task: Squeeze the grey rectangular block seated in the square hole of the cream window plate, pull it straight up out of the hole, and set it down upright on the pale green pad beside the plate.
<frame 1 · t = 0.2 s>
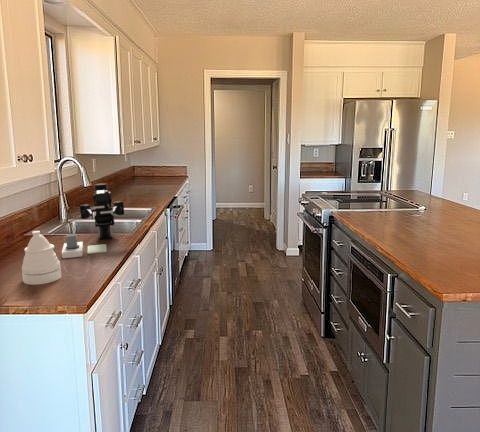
hand: (102, 213, 191), 17 cm above the worktop, tool horizontal, fingers open, 9 cm apart
cream window plate: (73, 252, 193), on the worktop
green pad: (97, 249, 197), on the worktop
grey rectangular block: (73, 253, 192), resting in cream window plate
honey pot: (42, 278, 161), on the worktop
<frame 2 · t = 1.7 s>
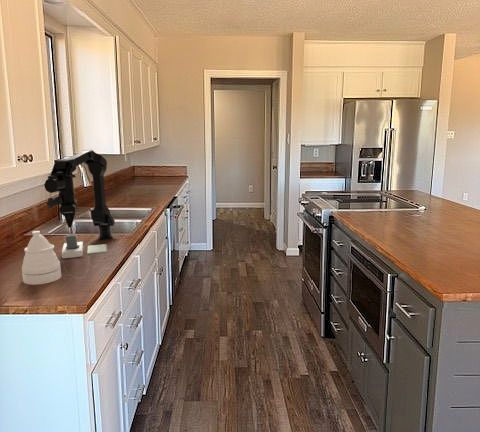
hand: (70, 225, 190), 12 cm above the worktop, tool pointing down, fingers open, 9 cm apart
nothing on the worktop moved.
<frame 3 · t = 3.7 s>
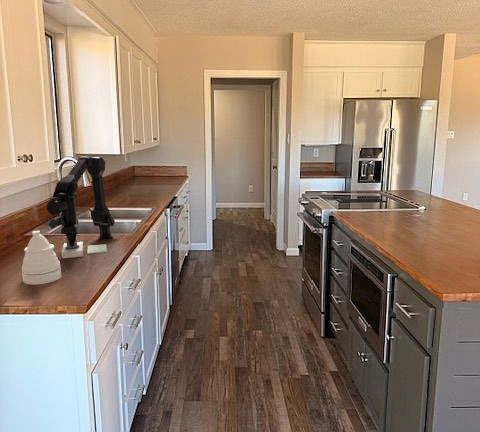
hand: (72, 245, 192), 4 cm above the worktop, tool pointing down, fingers closed on grey rectangular block, 4 cm apart
grey rectangular block: (73, 253, 192), resting in cream window plate, touching gripper
everything else where it was.
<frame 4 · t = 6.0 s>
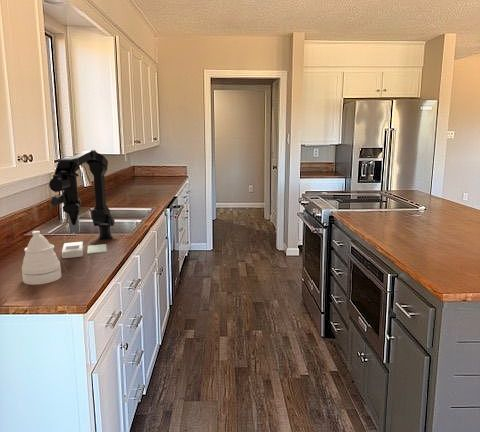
hand: (74, 223, 191), 13 cm above the worktop, tool pointing down, fingers closed on grey rectangular block, 4 cm apart
grey rectangular block: (74, 231, 191), point 9 cm above the worktop, touching gripper
everything else where it was.
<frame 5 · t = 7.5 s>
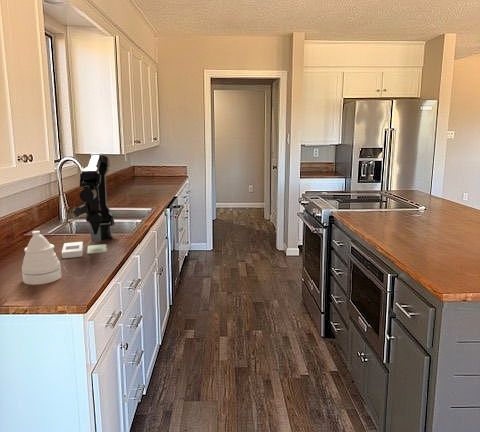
hand: (95, 233, 196), 7 cm above the worktop, tool pointing down, fingers closed on grey rectangular block, 4 cm apart
grey rectangular block: (96, 240, 197), point 4 cm above the worktop, touching gripper
everything else where it was.
when the fingers open (5 cm above the worktop, at t = 8.6 s): grey rectangular block drops 1 cm, resting on green pad.
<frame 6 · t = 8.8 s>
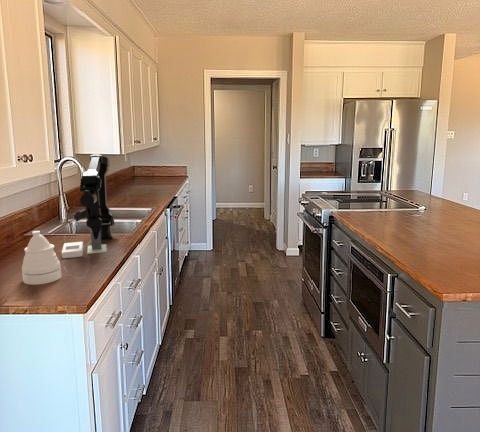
hand: (95, 237, 196), 5 cm above the worktop, tool pointing down, fingers open, 6 cm apart
grey rectangular block: (96, 248, 197), point 1 cm above the worktop, touching green pad
everything else where it was.
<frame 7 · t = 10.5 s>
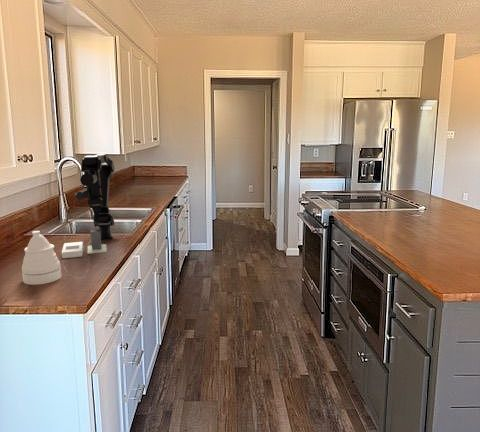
hand: (96, 217, 203), 13 cm above the worktop, tool pointing down, fingers open, 9 cm apart
nothing on the worktop moved.
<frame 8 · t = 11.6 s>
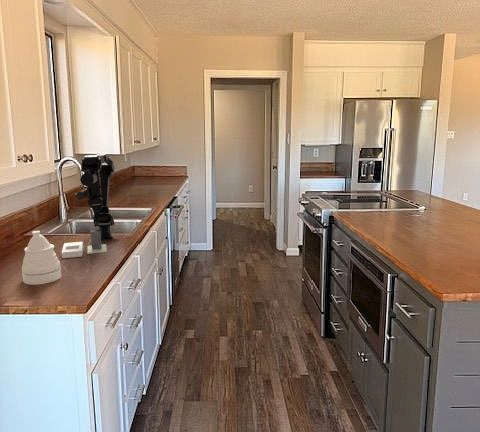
hand: (96, 217, 203), 13 cm above the worktop, tool pointing down, fingers open, 9 cm apart
nothing on the worktop moved.
at the end: grey rectangular block inside the target area on the green pad (0.1 cm from its centre), point 0.5 cm above the green pad's base; grey rectangular block tilted 0°; the gripper is holding nothing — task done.
